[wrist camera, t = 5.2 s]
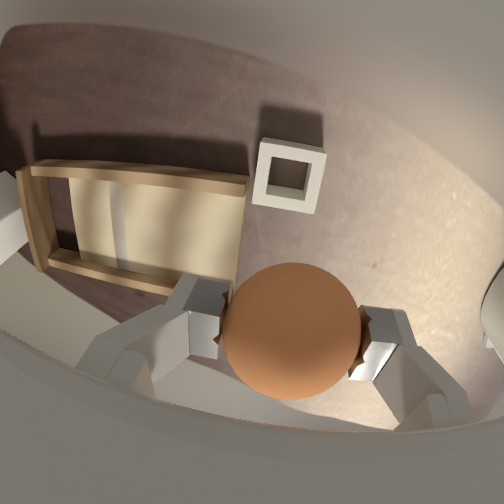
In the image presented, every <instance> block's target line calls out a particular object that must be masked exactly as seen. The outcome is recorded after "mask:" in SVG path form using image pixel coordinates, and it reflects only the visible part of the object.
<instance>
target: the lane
mask: <svg viewBox="0 0 504 504" xmlns="http://www.w3.org/2000/svg"><path fill="white" fill-rule="evenodd" d="M15 172H16V180H17V187H18V193H19V199H20V204H21V210H22V215H23V219H24V224H25V229H26V233H27V237H28V241H29V245H30V249H31V252H32V256H33V259H34V263H35V266H36V269H37V271H39V272H43V271H44V270H46V269H47V268H48V267H49V266H53V267H56V268H60V269H63V270H67V271H70V272H74V273H77V274H81V275H85V276H88V277H92V278H96V279H100V280H104V281H108V282H112V283H115V284H119V285H124V286H128V287H132V288H136V289H140V290H144V291H149V292H153V293H158V294H162V295H167V296H170V295H171V293H172V292H173V290H174V288H175V286H176V285H177V283H178V281H179V279H180V278H181V276H182V275H183V274H184V273H189V274H194V275H199V276H204V277H209V278H213V279H218V280H222V281H227V282H232V294H231V298H230V300H231V299H232V297H233V295H234V294H235V290H236V282H237V273H238V265H239V257H240V249H241V241H242V232H243V224H244V217H245V209H246V201H247V193H248V185H249V178H250V176H247V175H240V174H233V173H226V172H218V171H210V170H202V169H194V168H185V167H175V166H165V165H154V164H142V163H129V162H113V161H94V160H62V159H40V160H38V161H35V162H33V163H31V164H29V165H27V166H25V167H23V168H21V169H19V170H17V171H15ZM48 177H64V178H69V185H70V194H71V202H72V210H73V216H74V223H75V229H76V235H77V240H78V246H79V251H80V252H76V251H72V250H67V249H63V248H59V243H58V238H57V233H56V228H55V223H54V218H53V212H52V206H51V199H50V192H49V184H48ZM229 302H230V301H229Z"/></svg>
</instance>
